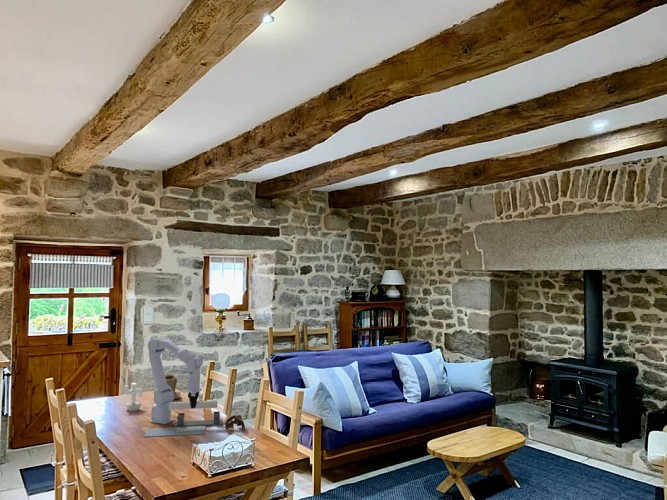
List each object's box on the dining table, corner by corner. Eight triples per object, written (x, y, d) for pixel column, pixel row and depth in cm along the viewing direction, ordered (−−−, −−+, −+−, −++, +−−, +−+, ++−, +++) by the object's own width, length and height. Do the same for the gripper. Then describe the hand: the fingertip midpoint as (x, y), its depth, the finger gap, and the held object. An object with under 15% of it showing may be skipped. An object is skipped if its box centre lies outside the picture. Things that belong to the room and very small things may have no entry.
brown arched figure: (244, 434, 246) (236, 420, 245) (228, 441, 248) (220, 427, 246) (250, 421, 258) (242, 407, 257) (234, 427, 259) (226, 414, 258)
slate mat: (144, 437, 237) (144, 436, 237) (147, 429, 249) (147, 428, 249) (204, 434, 243) (204, 433, 243) (205, 426, 255) (205, 425, 255)
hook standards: (174, 427, 252) (174, 416, 252) (175, 423, 259) (175, 412, 259) (222, 425, 258) (222, 414, 258) (222, 421, 264) (222, 411, 265)
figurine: (143, 409, 282) (144, 383, 283) (126, 412, 276) (127, 385, 277) (139, 407, 288) (140, 381, 289) (122, 409, 282) (123, 383, 283)
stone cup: (159, 403, 297) (160, 378, 297) (154, 399, 306) (155, 374, 307) (184, 400, 305) (185, 375, 306) (179, 396, 315) (179, 372, 315)
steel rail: (168, 409, 251) (168, 403, 251) (169, 408, 254) (169, 402, 254) (217, 407, 257) (217, 401, 257) (217, 406, 260) (217, 400, 260)
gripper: (201, 383, 250) (200, 410, 249) (202, 377, 264) (201, 403, 263) (187, 383, 248) (186, 411, 248) (188, 377, 262) (187, 403, 262)
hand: (193, 407), depth 255 cm, fingers closed on steel rail, 3 cm apart
